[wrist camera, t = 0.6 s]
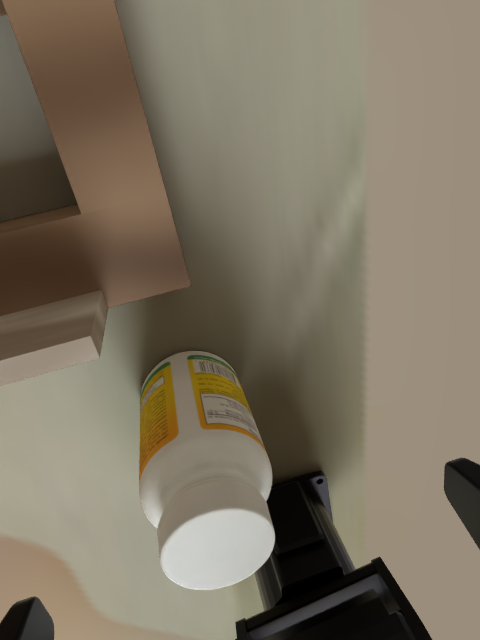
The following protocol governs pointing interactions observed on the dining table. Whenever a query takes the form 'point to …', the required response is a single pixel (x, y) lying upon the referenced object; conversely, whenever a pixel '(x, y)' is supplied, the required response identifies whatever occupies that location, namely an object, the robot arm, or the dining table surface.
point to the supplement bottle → (203, 472)
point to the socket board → (83, 195)
